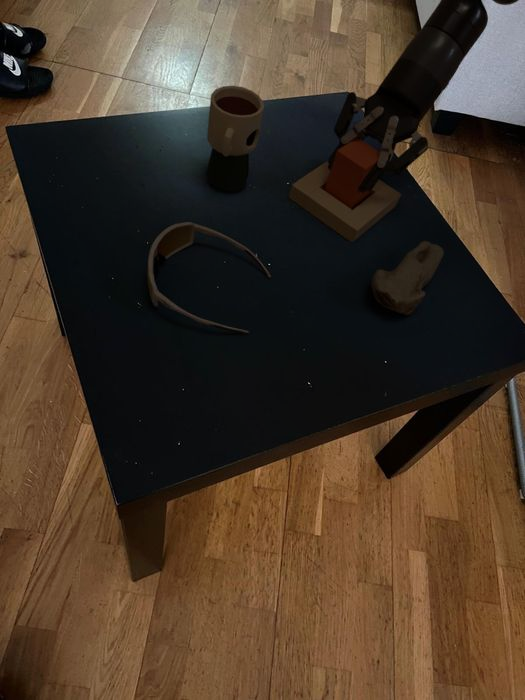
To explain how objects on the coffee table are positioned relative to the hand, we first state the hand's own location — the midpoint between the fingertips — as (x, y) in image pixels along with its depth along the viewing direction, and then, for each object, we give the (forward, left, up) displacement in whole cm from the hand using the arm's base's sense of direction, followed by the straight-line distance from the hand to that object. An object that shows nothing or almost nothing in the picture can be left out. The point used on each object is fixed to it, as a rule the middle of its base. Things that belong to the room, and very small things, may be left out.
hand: (345, 180), depth 78 cm
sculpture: (-11, +12, -5) cm, 17 cm away
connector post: (-1, -2, -5) cm, 5 cm away
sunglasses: (+15, +21, -5) cm, 27 cm away
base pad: (-1, -2, -5) cm, 5 cm away
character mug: (+17, 0, -5) cm, 18 cm away
